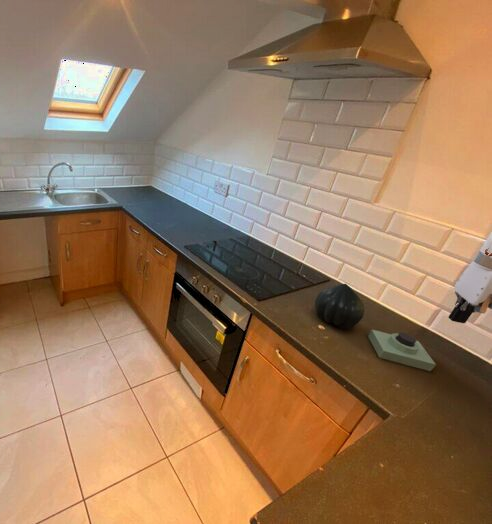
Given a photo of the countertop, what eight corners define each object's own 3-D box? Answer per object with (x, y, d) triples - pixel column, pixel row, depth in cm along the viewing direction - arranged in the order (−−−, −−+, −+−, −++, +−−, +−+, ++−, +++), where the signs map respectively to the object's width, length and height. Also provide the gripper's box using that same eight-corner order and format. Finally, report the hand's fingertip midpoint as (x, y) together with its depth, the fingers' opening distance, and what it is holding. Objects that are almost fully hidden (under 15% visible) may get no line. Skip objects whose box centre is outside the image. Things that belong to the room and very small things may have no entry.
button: (409, 339, 97) (412, 334, 96) (415, 348, 93) (418, 343, 93) (393, 335, 98) (396, 331, 97) (399, 344, 94) (402, 339, 94)
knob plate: (413, 347, 101) (421, 336, 99) (430, 371, 92) (439, 359, 89) (367, 336, 104) (374, 324, 102) (379, 357, 95) (386, 345, 93)
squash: (348, 328, 97) (373, 291, 98) (303, 306, 108) (327, 272, 109) (350, 340, 108) (373, 306, 108) (309, 318, 118) (331, 287, 119)
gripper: (538, 279, 69) (490, 340, 77) (493, 254, 82) (456, 309, 90) (498, 272, 71) (455, 333, 79) (460, 249, 84) (426, 303, 92)
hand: (456, 320), depth 84 cm, fingers closed
